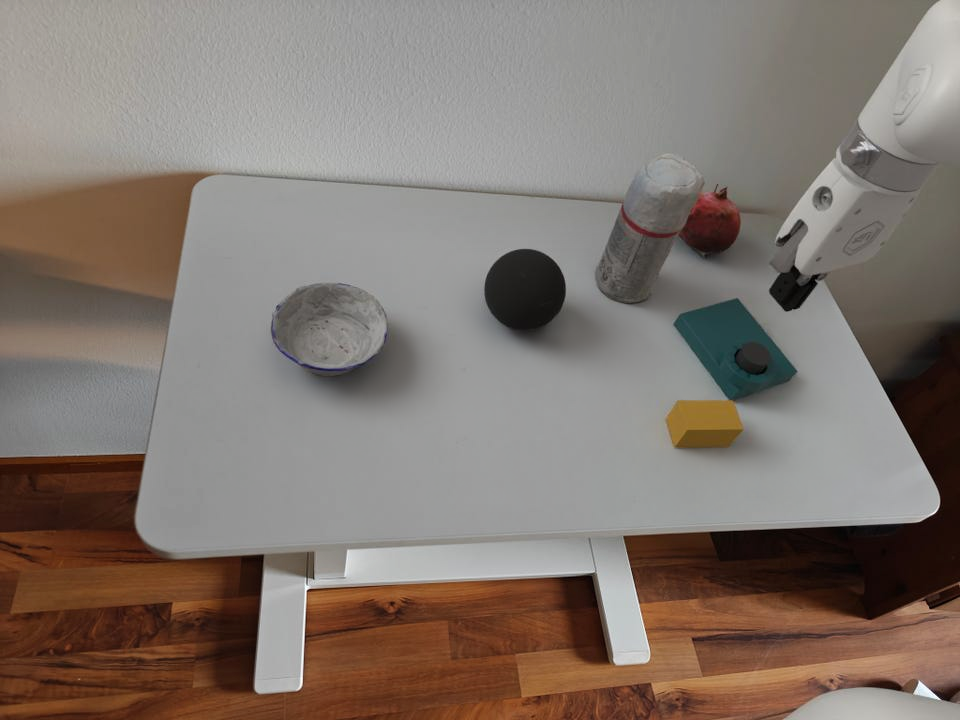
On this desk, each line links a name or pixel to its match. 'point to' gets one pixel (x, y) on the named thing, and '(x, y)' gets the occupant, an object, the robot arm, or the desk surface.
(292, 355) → the bowl
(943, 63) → the robot arm
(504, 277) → the speaker
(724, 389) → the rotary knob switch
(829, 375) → the desk surface
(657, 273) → the spray can
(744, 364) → the dark gray cylinder
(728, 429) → the sponge
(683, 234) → the fruit
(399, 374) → the desk surface
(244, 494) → the desk surface
